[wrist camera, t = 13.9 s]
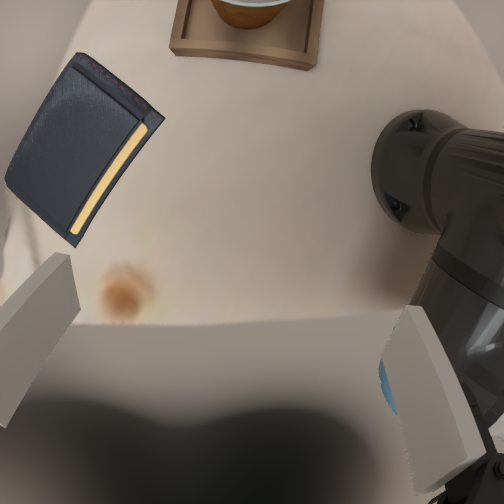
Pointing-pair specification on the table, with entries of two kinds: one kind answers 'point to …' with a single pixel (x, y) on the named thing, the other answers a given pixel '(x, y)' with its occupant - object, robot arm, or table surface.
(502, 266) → the robot arm
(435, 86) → the table surface
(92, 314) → the table surface
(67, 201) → the wallet
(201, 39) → the tray
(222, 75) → the table surface
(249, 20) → the disposable coffee cup
